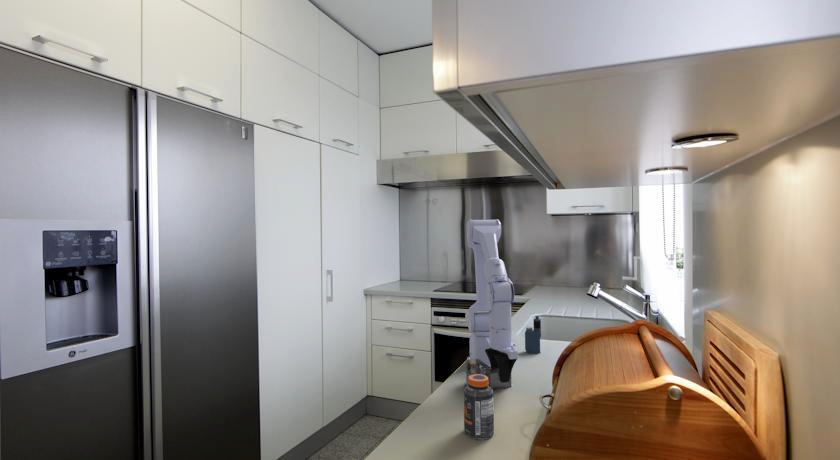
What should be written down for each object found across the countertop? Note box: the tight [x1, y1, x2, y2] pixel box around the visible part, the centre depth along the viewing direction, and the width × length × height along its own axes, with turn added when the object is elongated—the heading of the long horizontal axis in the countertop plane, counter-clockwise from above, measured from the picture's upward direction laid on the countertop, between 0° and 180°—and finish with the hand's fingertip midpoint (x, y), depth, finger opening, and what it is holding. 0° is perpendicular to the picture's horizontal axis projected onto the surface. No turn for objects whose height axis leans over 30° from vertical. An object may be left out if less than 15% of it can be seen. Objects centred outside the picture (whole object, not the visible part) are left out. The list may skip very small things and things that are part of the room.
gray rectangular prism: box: [465, 367, 512, 390], centre depth 110 cm, size 4×11×4 cm, turn 105°
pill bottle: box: [463, 374, 495, 440], centre depth 85 cm, size 6×6×11 cm
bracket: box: [476, 359, 491, 387], centre depth 110 cm, size 7×1×6 cm, turn 16°
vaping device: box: [524, 315, 542, 354], centre depth 141 cm, size 3×5×12 cm, turn 78°
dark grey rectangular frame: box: [466, 359, 482, 374], centre depth 109 cm, size 7×1×7 cm, turn 16°
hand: (501, 379), depth 111 cm, fingers closed on gray rectangular prism, 4 cm apart
